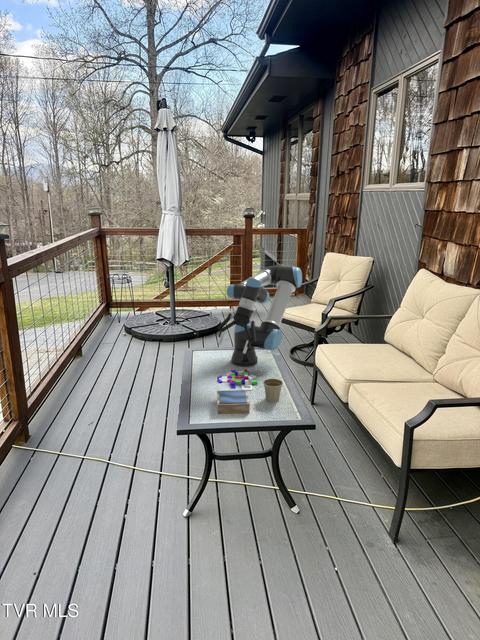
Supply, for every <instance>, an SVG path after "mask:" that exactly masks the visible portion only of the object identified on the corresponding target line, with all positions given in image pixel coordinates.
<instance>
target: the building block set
mask: <svg viewBox="0 0 480 640" xmlns="http://www.w3.org/2000/svg"><path fill="white" fill-rule="evenodd" d="M216 380H217V381H216V382H218V384H222V383H229V385H230V389H236V386H239V385H241V390H247V392H248V391H250V392H252V391H253V385H254V386H258V380H257V379H256V375H253V374H251V375H250V370H248V369H247V368H243V370H241V371H240V370H237V371H236V369H231V370H230V372H227V373H226V375H219V376H217V379H216Z"/></svg>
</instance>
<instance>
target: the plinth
mask: <svg viewBox="0 0 480 640" xmlns="http://www.w3.org/2000/svg"><path fill="white" fill-rule="evenodd" d="M216 399H217V400H216V402H217V405H216V406H217V407H216V408H217V415H247V414H250V411H251V410H250V407H251V406H250V398H249V394H248V391H247V390H242V389H241V390H235V389H234V390H217V391H216Z"/></svg>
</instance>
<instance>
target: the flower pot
mask: <svg viewBox="0 0 480 640" xmlns="http://www.w3.org/2000/svg"><path fill="white" fill-rule="evenodd" d="M283 384H284V381H283V380H281V379H280V378H279V379H278V378H274V377H273V378H267V379H266V378H265V379H264V380H263V381H262V385H263V387H264V393H265V400H266V401H267V402H270V403H277V402H278V401H280V396H281V391H282V387H283Z"/></svg>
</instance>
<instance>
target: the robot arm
mask: <svg viewBox="0 0 480 640" xmlns="http://www.w3.org/2000/svg"><path fill="white" fill-rule="evenodd" d="M302 282H303V272H302V270H301V268H300V267H297V266H296V267H295V266H287V265H286V266H285V265H271V266H267V267H265V268H263V269H260V270H259V271H258V272H257V273H256V274H255V275H253V276H250V277H248V278H247V279H246V280H244V281H241V282H240V283H238V284H229V285H228V286H227V288H226V296H227V297H228V298H229V299H233V300H239V303H238V306H237V307H236V308H237V309H236V311H235V313H234V314H233V313H231V312H230V313H228V314H227V316H226V318H225V319H224V320H223V321H222V322H220V324H219V325H218V326H217V330H219V334H218V338H219V339H218V342H217V345H219V346H221V345H222V342H223V340H224V337H225V334H226V332H225V331H227V330H229V329H230V328H231V327H234V330H233V331H234V332H233V333H234V335H233V336H234V337H233V339H234V342H233V343H234V348H233V352H232V356H231V364H232V365H234V366H237V367H253V366H255V365H257V364H258V361H259V360H258V359H259V358H258V356H257V352H256V349H255V348H258V349H263V350H266V351H275V350H277V349H278V348H279V346H280V345H281V343H282V340H283V332H282V327H281V324H282V320H283V318H284V315H285V312H286V309H287V307H288V304H289V301H290V298H291V296H292V294H293V293H294V292H296V289H297V288H301V286H302ZM268 285H275V286H276V291H275V294H274V297H273V298H272V299H273V300H272V301H271V305H270V307H269V310H268V313H267V314H266V318H265V319H264V321H262V322H261V323H260V326H257V325H256V322H255V321H254V320H250V319H251V317H252V313H253V310H254V308H255V304H256V302H257V303H259V304H263V305H264V304H266V303H267V302H268V301H269V299H270V294H269V292H268V290H267V289H265V288H264V287H265V286H268ZM231 319H233V320H232V321H231ZM230 321H231V322H230ZM228 322H229V323H228Z"/></svg>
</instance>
